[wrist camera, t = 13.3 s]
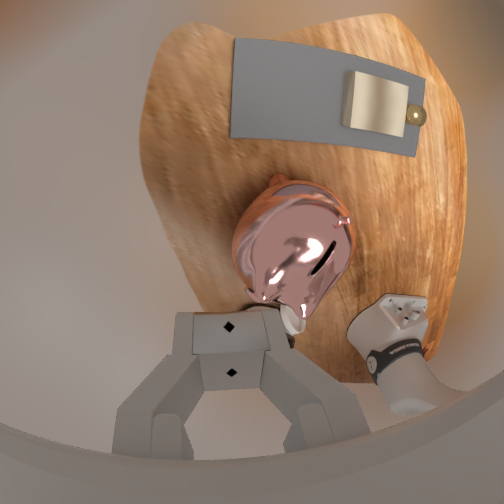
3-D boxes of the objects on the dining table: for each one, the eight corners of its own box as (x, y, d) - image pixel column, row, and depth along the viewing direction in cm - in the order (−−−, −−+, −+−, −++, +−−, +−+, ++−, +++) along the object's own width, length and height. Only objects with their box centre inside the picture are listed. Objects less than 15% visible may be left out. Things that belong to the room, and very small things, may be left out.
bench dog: (411, 105, 34) (427, 108, 31) (409, 124, 36) (425, 128, 33) (396, 100, 34) (412, 103, 31) (394, 119, 36) (409, 123, 32)
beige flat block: (397, 85, 33) (408, 86, 30) (391, 133, 37) (402, 137, 34) (345, 71, 31) (355, 71, 29) (341, 124, 36) (350, 127, 33)
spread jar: (228, 324, 54) (233, 372, 44) (254, 281, 50) (265, 329, 40) (280, 337, 58) (293, 381, 48) (309, 298, 54) (329, 343, 44)
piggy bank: (206, 243, 44) (206, 313, 31) (273, 146, 38) (310, 178, 24) (282, 281, 50) (306, 350, 37) (348, 202, 44) (401, 253, 30)
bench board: (419, 78, 33) (425, 78, 32) (409, 155, 40) (415, 157, 39) (234, 39, 29) (235, 37, 28) (229, 136, 36) (230, 137, 35)
